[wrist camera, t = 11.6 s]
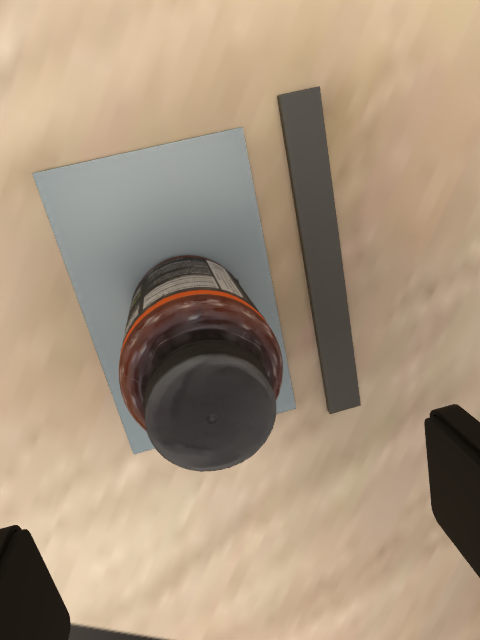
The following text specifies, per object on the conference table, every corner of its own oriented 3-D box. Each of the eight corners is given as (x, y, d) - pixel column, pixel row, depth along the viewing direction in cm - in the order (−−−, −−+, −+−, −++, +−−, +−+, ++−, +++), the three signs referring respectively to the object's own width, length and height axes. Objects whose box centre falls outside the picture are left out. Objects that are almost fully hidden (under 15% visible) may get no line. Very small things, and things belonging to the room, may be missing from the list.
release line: (316, 87, 22) (319, 86, 21) (357, 402, 28) (360, 405, 28) (277, 96, 21) (279, 95, 21) (327, 410, 28) (330, 413, 27)
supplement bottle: (243, 355, 25) (304, 492, 15) (135, 362, 24) (117, 514, 14) (243, 249, 23) (314, 320, 13) (126, 253, 22) (97, 332, 12)
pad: (241, 127, 22) (242, 126, 21) (294, 405, 27) (296, 408, 27) (33, 173, 21) (32, 173, 20) (133, 451, 26) (133, 454, 26)
